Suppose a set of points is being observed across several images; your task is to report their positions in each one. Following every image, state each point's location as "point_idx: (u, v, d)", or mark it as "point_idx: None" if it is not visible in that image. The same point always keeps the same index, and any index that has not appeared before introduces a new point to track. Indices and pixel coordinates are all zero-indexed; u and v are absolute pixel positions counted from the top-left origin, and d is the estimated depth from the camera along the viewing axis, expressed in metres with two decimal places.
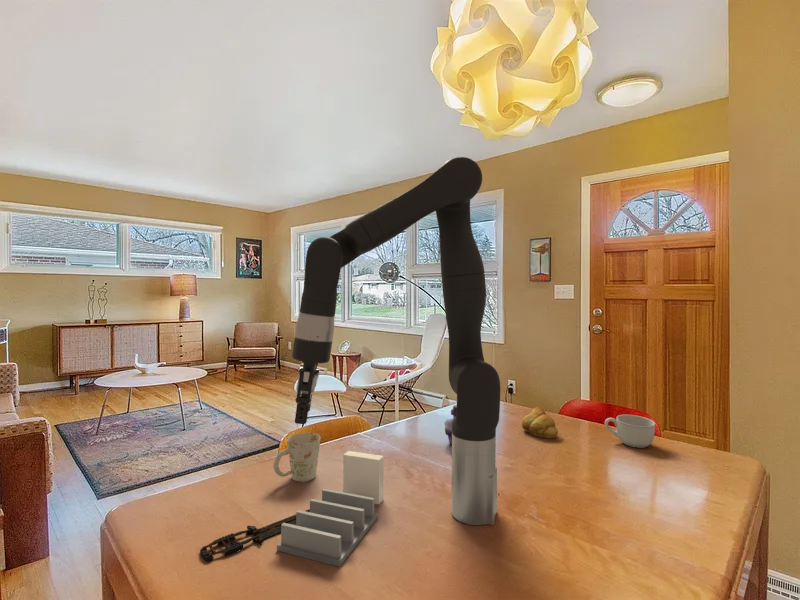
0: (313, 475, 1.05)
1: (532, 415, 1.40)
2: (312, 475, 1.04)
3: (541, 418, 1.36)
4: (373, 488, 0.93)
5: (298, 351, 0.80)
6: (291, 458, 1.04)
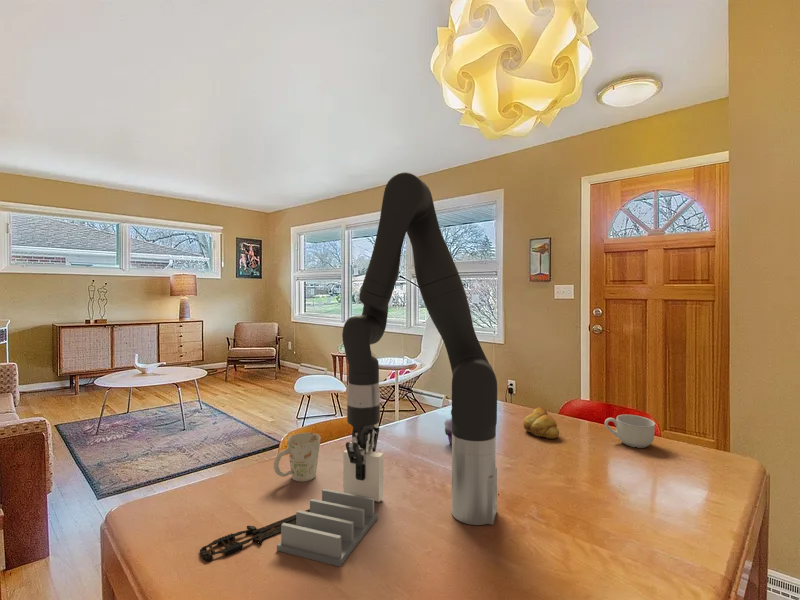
0: (313, 475, 1.05)
1: (533, 415, 1.40)
2: (312, 475, 1.04)
3: (542, 418, 1.36)
4: (373, 485, 0.93)
5: (348, 416, 0.93)
6: (291, 458, 1.04)
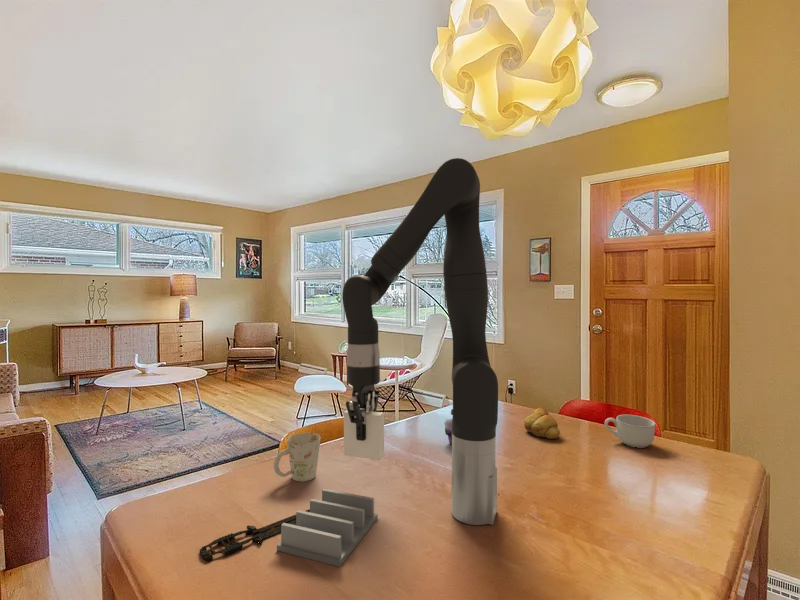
0: (313, 475, 1.05)
1: (534, 415, 1.40)
2: (312, 475, 1.04)
3: (543, 418, 1.36)
4: (373, 444, 0.93)
5: (348, 377, 0.93)
6: (291, 458, 1.04)
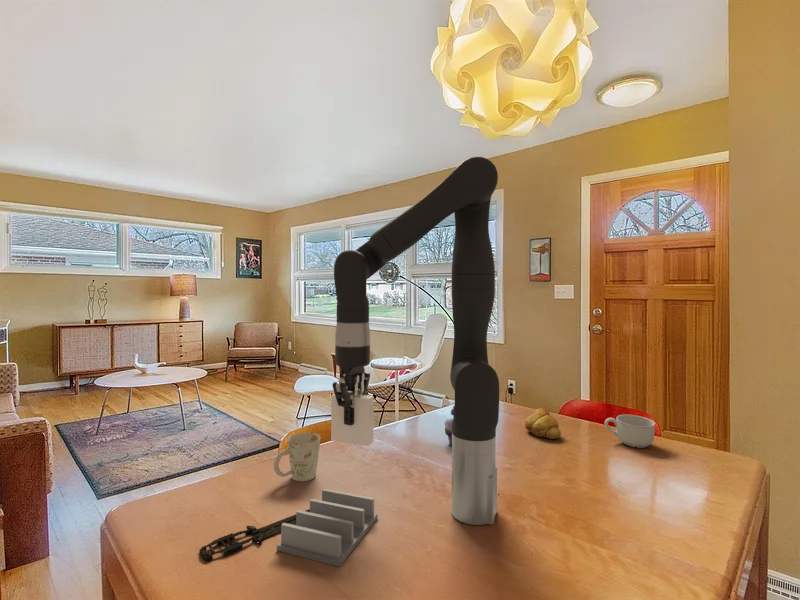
0: (313, 475, 1.05)
1: (535, 415, 1.39)
2: (312, 475, 1.04)
3: (544, 419, 1.36)
4: (362, 429, 0.87)
5: (336, 357, 0.88)
6: (291, 458, 1.04)
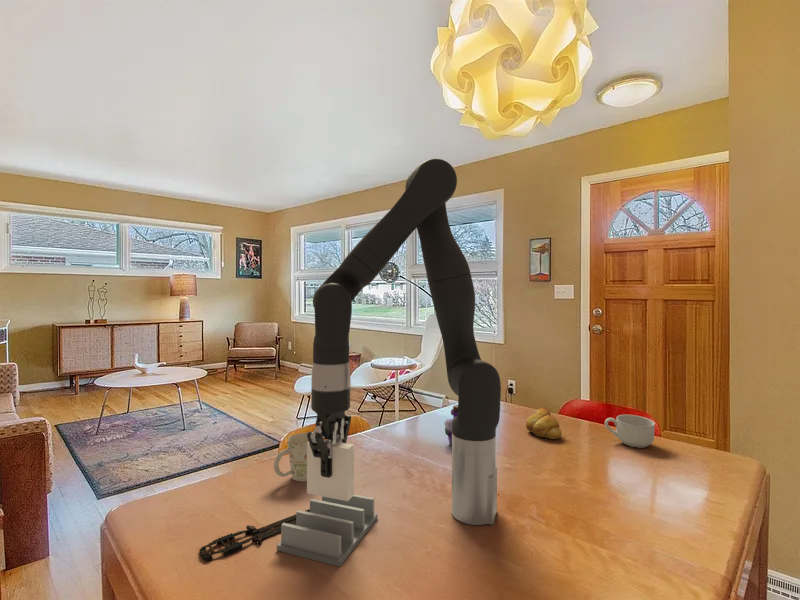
0: None
1: (536, 416, 1.39)
2: None
3: (544, 419, 1.36)
4: (341, 482, 0.79)
5: (312, 402, 0.79)
6: (291, 458, 1.04)
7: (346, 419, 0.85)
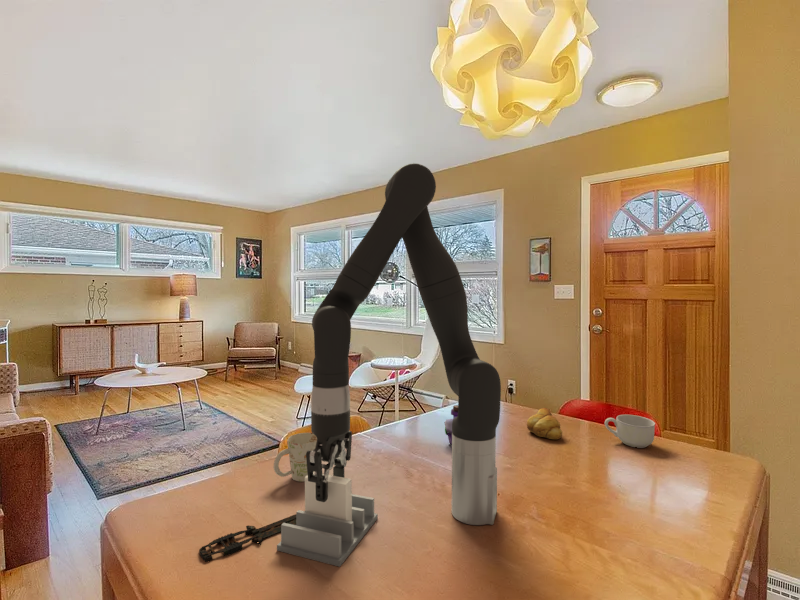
0: None
1: (537, 416, 1.39)
2: None
3: (545, 419, 1.35)
4: (339, 518, 0.79)
5: (312, 425, 0.79)
6: (291, 458, 1.04)
7: (347, 435, 0.86)
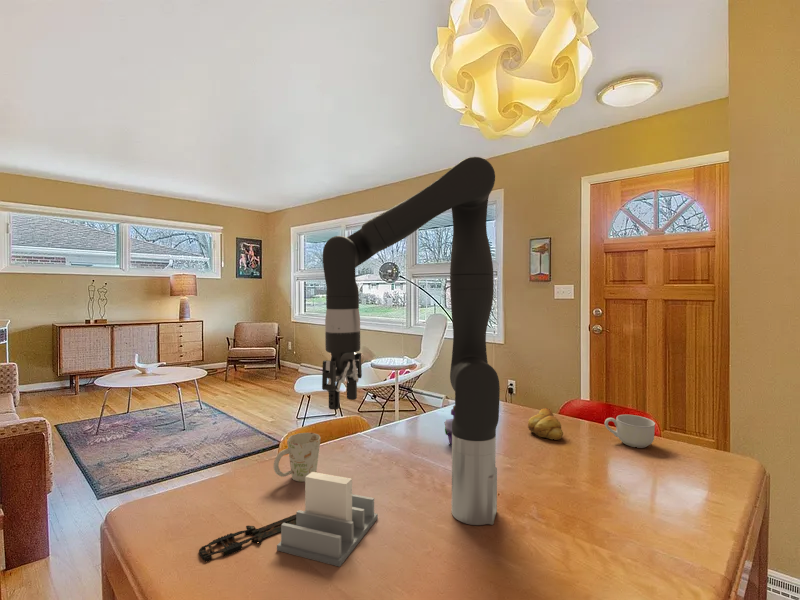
0: None
1: (538, 416, 1.39)
2: None
3: (546, 419, 1.35)
4: (339, 517, 0.79)
5: (326, 344, 0.88)
6: (291, 458, 1.04)
7: (357, 357, 0.95)
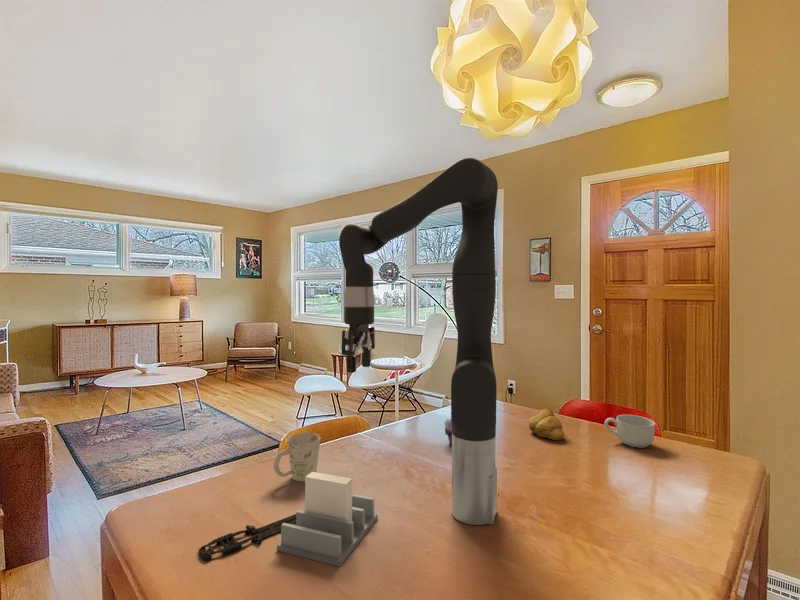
0: None
1: (539, 416, 1.39)
2: None
3: (547, 419, 1.35)
4: (339, 517, 0.79)
5: (345, 317, 1.02)
6: (291, 458, 1.04)
7: (371, 330, 1.09)
